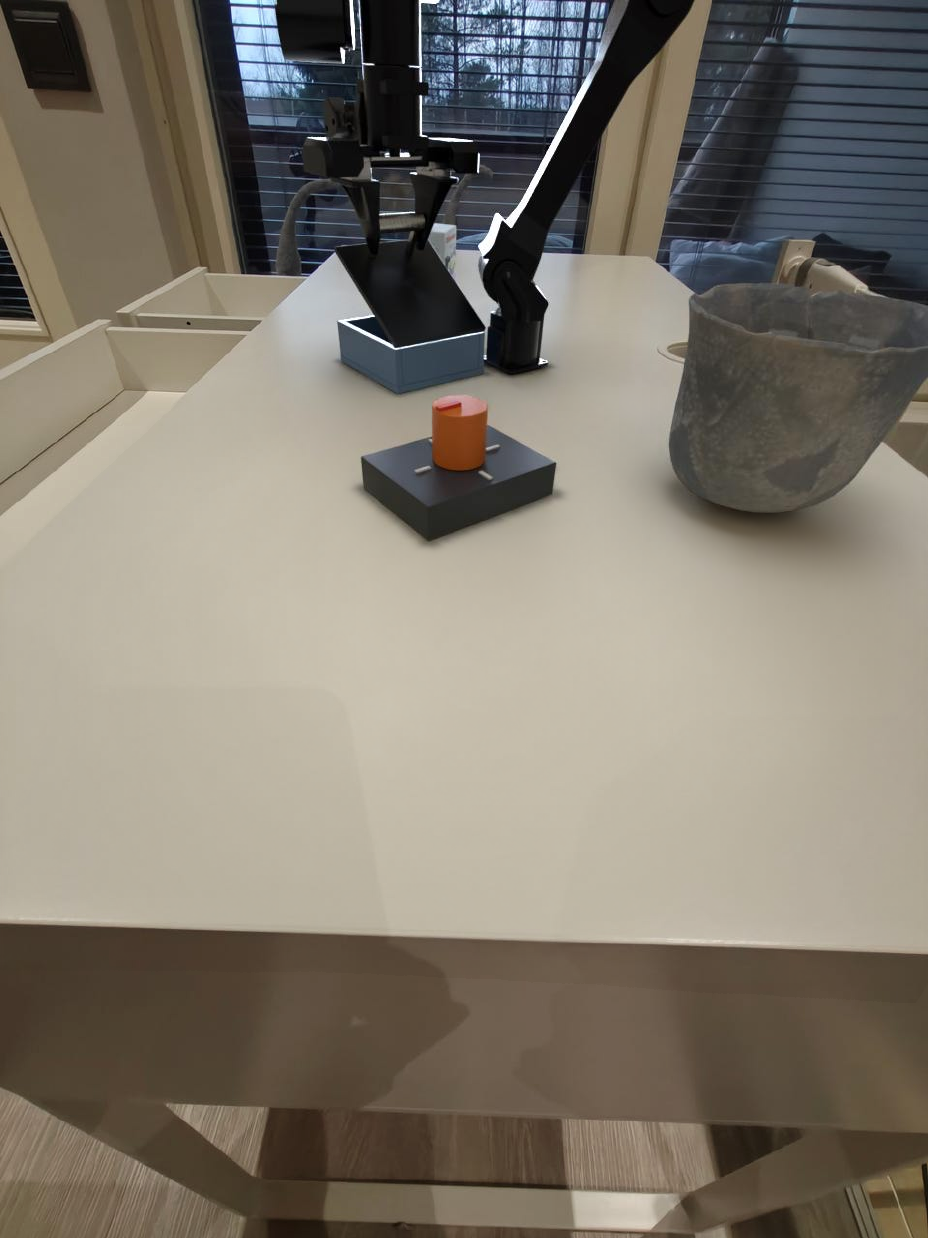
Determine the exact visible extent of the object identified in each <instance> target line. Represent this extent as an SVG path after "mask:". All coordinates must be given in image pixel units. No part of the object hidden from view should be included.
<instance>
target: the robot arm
mask: <svg viewBox="0 0 928 1238" xmlns="http://www.w3.org/2000/svg"><path fill="white" fill-rule="evenodd" d="M439 1H440V0H358V12H359V29H360V45H361V46H360V47H361V64H362V67H361V68H362V78H356V85H355V95H356V97H355V102H354V103H346V101H345V99H344V98H343V97H338V96H337V97H335V96H327V97H326V98H325V99H323V100H322V102H321V104H322V119H323V122H322V123H323V126H324V131H325V137H321V136H320V137H319V136H318V137H313V136H311V137H309V136H308V137H306V138H305V139H304V140H305V141H304V142H303V145H302V149H301V157H302V165H303V172H304V173H309V174H312V175H317V176H321V177H325V178H329V179H330V181H331V182H332V183H333V184H339V185H340V187H341V188H342V190H343V191H344V193H346V195H347V198H348V199H349V201H350V204H351V206H352V207H353V210H354V212H355V214H356V217H357V219H358V222H359V225H360V228H361V231H362V234H363V237H364V239H365V242H366V244H367V245H368V248H369V250H370V253H371V254H373V255H377V254H378V248H379V232H380V214H381V212H380V211H381V207H380V206H381V204H380V202H381V181H380V180H376V179H373V176H372V169H381V168H382V169H385V168H387V169H389V168H391V169H392V168H415V169H416V170H415V171H416V172H409V173H408V176H409V179H410V182H411V185H412V188H413V191H414V212H422V213H423V214H424V217H425V228H424V229H423V230H422V231H419V234H418V237H417V241H416V247H417V249H418V250H424V248H425V246H426V243H427V241H428V238H429V235H430V233H431V230H432V228H433V225H434V223H436V220H437V218H438V215H439V213H440V211H441V209H442V207H443V204H444V202H445V200H446V198H447V197H448V195H449V192H450V190H451V188H452V186H453V185H457V184H459V177H456V176H452V170H453V171H454V173H455V174H458V175H470V174H471V175H473V174H479V172H480V170H479V169H480V153H479V150H478V148H477V145H476V142H475V141H474V140H468V139H460V138H452V137H429V136H430V135H423V134H422V133H423V131H422V129H423V127H422V124H423V123H422V121H423V120H422V119H423V117H422V97H429V96H430V95H429V94H430V92H429V90H430V89H429V88H430V87H429V86H430V85H429V84H430V83H429V82H428V81H422V68H421V67H422V14H421V13H422V10H421V9H422V8H421V6H422V5H421V4H423V3H424V4H438V3H439ZM695 1H696V0H613V3H612V5H611V7H610V10H609V14H608V17H607V19H606V23H605V25H604V29H603V33H602V35H601V39H600V44H599V47H598V52H597V55H596V57H595V60H594V63H593V64H592V66H591V68H590V69H589V72H588V73H587V76H586V78H585V80H584V82H583V83H582V85H581V87H580V89H579V91H578V93H577V95H576V97H575V99H574V101H573V103H571V106H570V108H569V110H568V112H567V114H566V115H565V117H564V120H563V122H562V123H561V125H560V127H559V129H558V131H557V133H556V135H555V136H554V139H553V140H552V142H551V145H550V146H549V148H548V150H547V151H546V154H545V155H544V158H543V159H542V161H541V163H540V165H539V167H538V169H537V171H536V173H535V174H534V176H533V179H532V180H531V182H530V184H529V186H528V188H527V190H526V192H525V194H524V195H523V197H522V199H521V201H520V202H519V204H518V206H517V207H516V208H515V209H514V211H513V212H512V213H511V214H510V215H509V216H508V217H507V218H506V219H504V218H503V217H502V216H501V215H500V213H498V212H496V213H494V217H493V220H492V222H491V225H490V228H489V231H488V234H487V235H486V237H485V238H484V240H483V241H482V242H480V243H479V244H478V246H477V247H478V249H479V252H480V255H479V259H478V264H477V267H478V269H477V271H478V274H479V278H480V281H481V283H482V286H483V289H484V291H485V292H486V294H487V297H489V298H490V299H491V300H492V301H493V302H495V303H496V305H497V306H498V307H497V308H495V309H494V311H490V314H489V315H490V318H489V325H488V326H487V331H486V350H485V351H486V354H484V364H487V365H490V367H494V368H495V369H498V370H500V371H503V372H505V373H507V374H509V375H514V374H518V373H523V372H526V371H532V370H536V369H540V368H544V367H547V366H549V360H546V359H544V358H541V351H542V342H543V334H544V325H545V323H544V322H545V315H546V312H547V310H548V308H549V301H548V299H547V298H546V297H545V295H544V294H543V292H542V291H541V289H540V288H539V286H538V285H537V283H536V282H535V281H534V278H535V276H536V273H537V271H538V268H539V265H540V263H541V260H542V257H543V253H544V250H545V246H546V242H547V239H548V235H549V232H550V229H551V226H552V225H553V223H554V221H555V219H556V217H557V216H558V214H559V213H560V211H561V209H562V207H563V205H564V204H565V202H566V201H567V198H568V197H569V194H570V193H571V191H572V189H573V187H574V186H575V184H576V182H577V181H578V179H579V177H580V175H581V173H582V171H583V170H584V168H585V166H586V164H587V163H588V161H589V160H590V158H591V156H592V154H593V152H594V150H595V148H596V147H597V145H598V143H599V142H600V139H601V138H602V136H603V134H604V132H605V131H606V129H607V127H608V126H609V124H610V122H611V120H612V118H613V117H614V115H615V113H616V112H617V109H618V108H619V106H620V104H621V103H622V101H623V99H624V97H625V95H626V94H627V92H628V90H629V88H630V86H631V85H632V84H633V82H634V81H635V80H636V79H637V78H638V77H639V76H640V74H641V73H642V72H643V71H644V70H645V69H646V68H647V67H648V65H649V64H650V63H651V62H652V61H653V60H654V58H655V57H656V56H657V55H659V53H660V52H661V51H662V49H663V48H664V47H665V45H666V44H667V43H668V42H669V40H670V39H671V38H672V36H673V35H674V34H675V32H676V31H677V30H678V28H679V27H680V26H681V25H682V23H683V22H684V20H685V19H686V18H687V17H688V15H689V13H690V12H691V10H692V8H693V5H694V3H695ZM353 3H354V2H353V0H276V3H274V13H275V21H276V29H277V34H278V35H277V36H278V40H279V45H280V49H281V53H282V56H283V58H284V60H285V61H287V62H288V61H289V62H306V63H309V62H310V63H325V64H326V63H328V64H345V59H346V57H345V55H346V52H350V51H355V47H356V38H355V18H354V6H353V5H354V4H353ZM387 150H388V153H386V152H387ZM401 150H408V152H404V153H403V152H401ZM382 152H384V153H382Z"/></svg>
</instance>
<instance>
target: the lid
mask: <svg viewBox="0 0 928 1238" xmlns="http://www.w3.org/2000/svg"><path fill="white" fill-rule="evenodd" d="M424 228H425V217H424V214H423V213H422V212H415V211H409V212H408V211H407V212H393V213H392V212H391V213H380V232H379V248H378V254H377V255H373V254H371V253H370V250H369V248H368V245H367V243H358V244H345V245H336V246H334V248H333V249H334V250H333V251H334V253H335V255H336V256H337V258H338V261H340V263H341V265H342V266H343V268H344V269H345V271H346V272H347V274H348V276H349V277H350V279H351V281H352V282H353V284H354V285H355V287H356V288H357V291H358V292H359V294H360V295H361V297H362V299H363V300H364V302H365V303H366V306H368V308H369V309H370V311H371V313H372V315H374V316H375V318H376V319H377V321H378V323H379V324H380V326H381V327H382V329H383V331H384V332H385V334H386V335H387V337H388V339H389V340H390V342H391V344H392V345H393V347H394V348H400V347H405V346H410V345H416V344H421V343H426V342H431V341H437V340H442V339H447V338H452V337H457V336H463V335H468V334H473V333H478V332H484V333H485V331H486V329H487V326H486V325H485V323H483V321H482V319H481V318H480V316H479V315H478V313H477V312H476V310H475V308H474V306H472V304H471V303H470V301H469V300H468V298H467V296H466V295H465V294H464V292H463V290H462V289H461V287H460V285H459V284H458V283H457V280H456V281H455V280H454V278H453V277H452V275H451V274H450V272H449V271H448V269H447V268H446V266H445V265H444V263H443V262H442V260H441V259H440V257H439V255H438V254H437V252H436V251H435V249H434V248H433V246H432V245H431V243H430V242H429V240H428V241H427V243H426V246H425V248H424V250H418V249H417V247H416V241H417V237H418V234H419V231H422V230H423V229H424ZM396 233H397V234H399V233H409V234H408V239H401V240H400V239H399V240H390V241H381V240H382V239H381V238H382V235H387V234H396Z"/></svg>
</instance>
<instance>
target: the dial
mask: <svg viewBox="0 0 928 1238" xmlns="http://www.w3.org/2000/svg"><path fill="white" fill-rule="evenodd" d="M488 413H489V406H488V404H487V402H486V401H485V400H483V399H481V398H479V397H476V396H471V395H465V394H453V395H446V396H442V397H438V398H436V399H435V400H434V401H433V402H432V403H431V437H432V459H433V461H434V463H435V464H437V465H438V466H440V467H442V468H445V469H449V470H456V471H464V470H471V469H475V468H477V467H479V466H481V465H482V464H483V463H484V461H485V454H486V435H487V425H488V418H489V417H488V416H489V415H488Z"/></svg>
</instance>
